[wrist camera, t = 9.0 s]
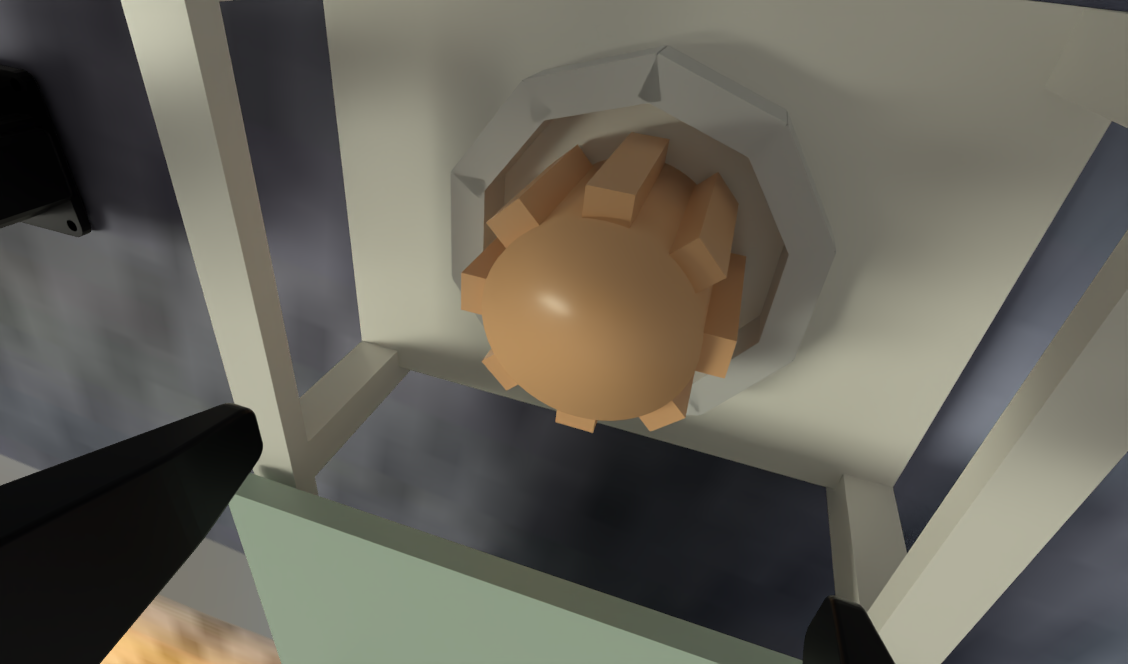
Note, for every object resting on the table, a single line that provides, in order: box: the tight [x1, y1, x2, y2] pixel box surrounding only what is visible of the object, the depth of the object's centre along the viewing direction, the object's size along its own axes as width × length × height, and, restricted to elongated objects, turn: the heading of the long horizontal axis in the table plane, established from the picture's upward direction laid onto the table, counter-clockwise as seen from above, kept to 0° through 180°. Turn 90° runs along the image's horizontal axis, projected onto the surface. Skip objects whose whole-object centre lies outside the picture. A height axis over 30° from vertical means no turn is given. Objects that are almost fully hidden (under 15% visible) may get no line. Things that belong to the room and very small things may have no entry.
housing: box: [121, 0, 1128, 664], centre depth 19 cm, size 19×28×7 cm
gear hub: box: [461, 132, 746, 433], centre depth 15 cm, size 6×6×5 cm
